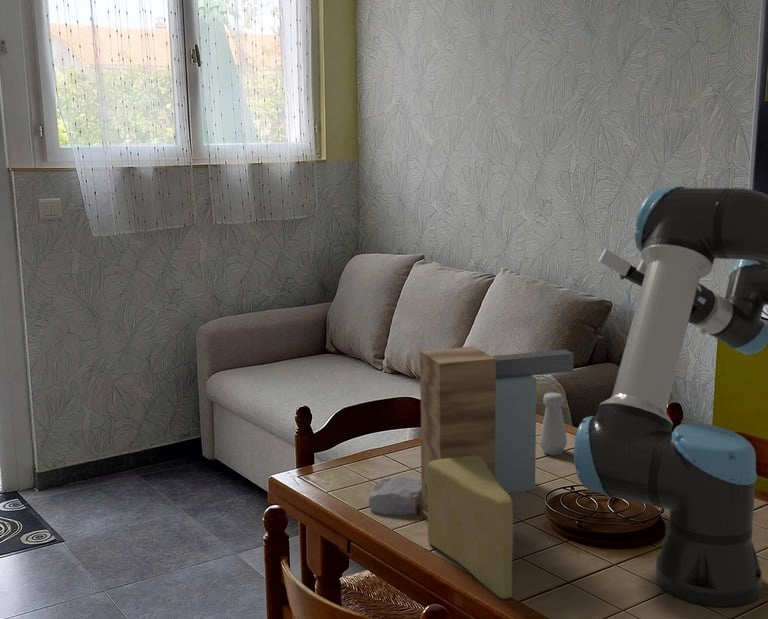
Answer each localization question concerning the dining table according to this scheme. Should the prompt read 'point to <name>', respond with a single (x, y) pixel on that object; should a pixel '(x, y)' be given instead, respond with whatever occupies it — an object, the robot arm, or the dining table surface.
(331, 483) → the dining table surface
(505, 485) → the grey-blue block
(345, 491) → the dining table surface
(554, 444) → the salt shaker
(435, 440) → the walnut stand
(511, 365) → the steel bar
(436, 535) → the cheese
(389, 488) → the stone block
